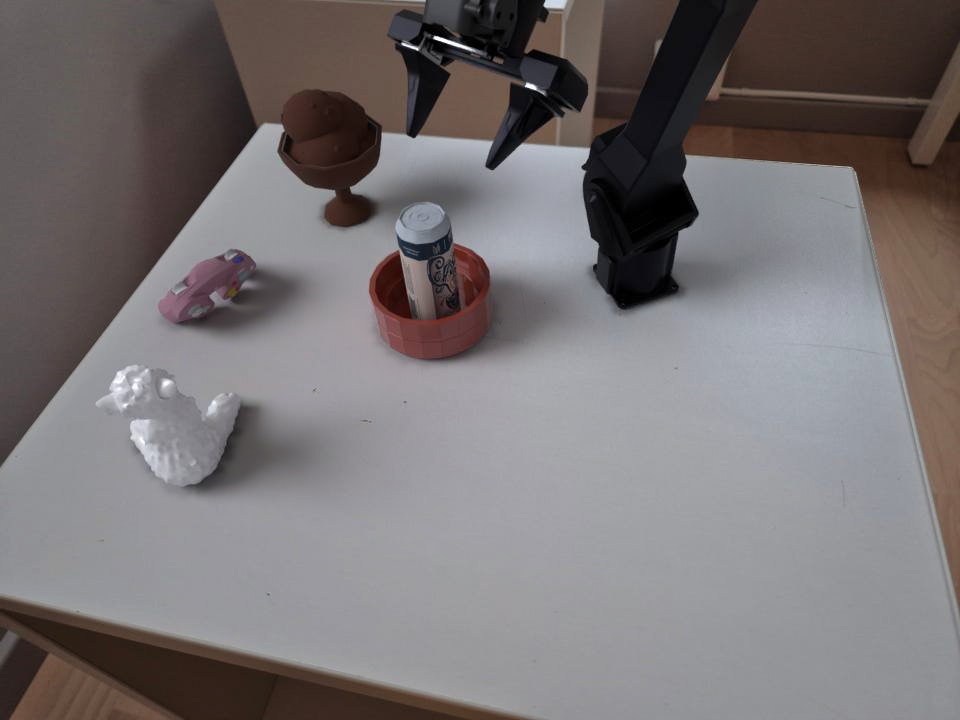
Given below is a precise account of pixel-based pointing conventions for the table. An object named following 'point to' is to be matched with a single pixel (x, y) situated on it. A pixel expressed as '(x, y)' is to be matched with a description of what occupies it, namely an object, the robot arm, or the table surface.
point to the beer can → (428, 261)
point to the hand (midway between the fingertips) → (448, 152)
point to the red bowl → (432, 334)
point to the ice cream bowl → (331, 149)
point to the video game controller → (207, 285)
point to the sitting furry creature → (171, 423)
